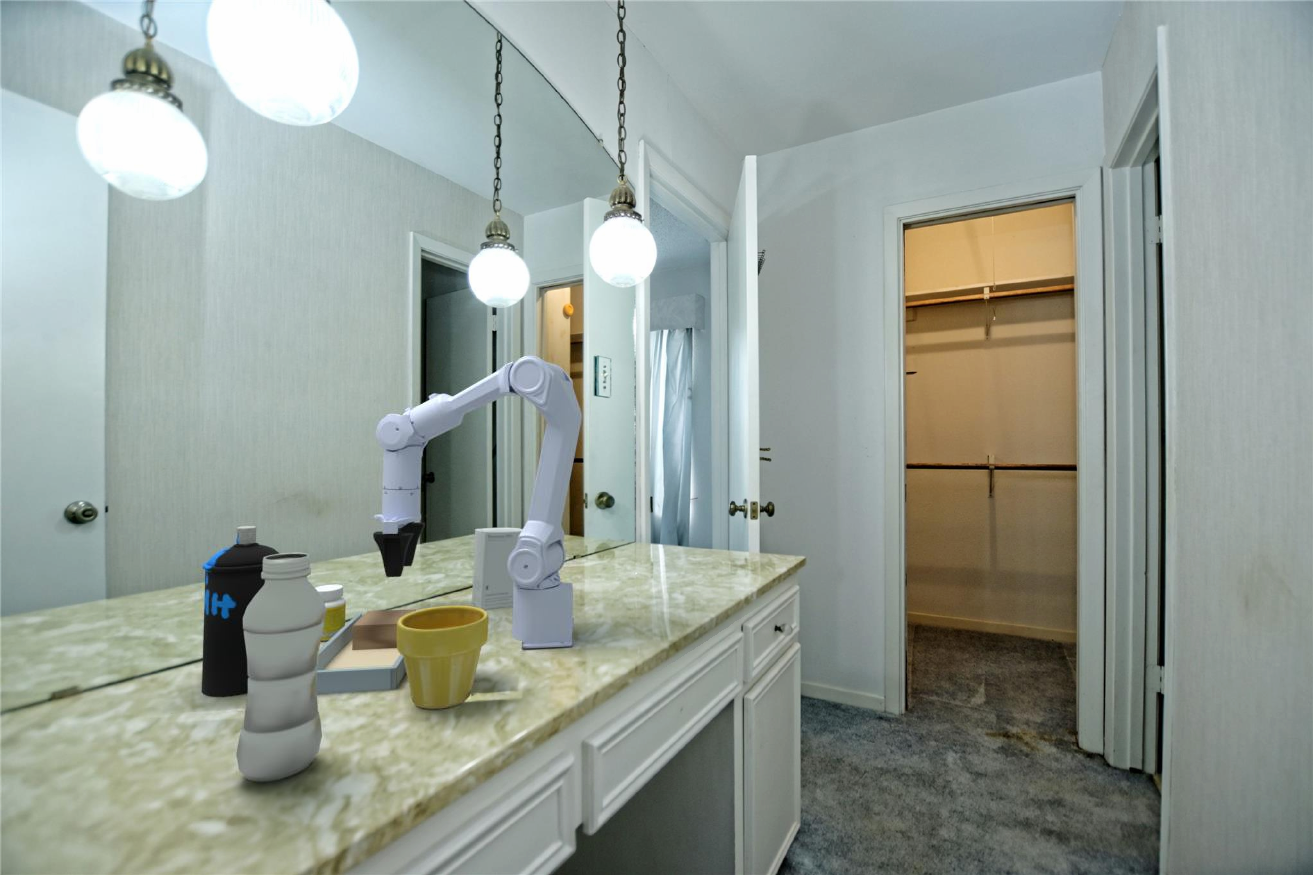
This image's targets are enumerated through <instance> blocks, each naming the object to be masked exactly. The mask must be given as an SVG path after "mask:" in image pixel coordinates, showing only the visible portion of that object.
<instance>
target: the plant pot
mask: <svg viewBox="0 0 1313 875" xmlns="http://www.w3.org/2000/svg"><path fill="white" fill-rule="evenodd" d="M488 635H489V613H488V612H487V610H483V609H480V608H477V607H476V606H469V605H442V606H441V605H440V606H434V607H428V608H427V607H426V608H422V609H418V610H417V609H416V611H414V612H411V613H408V614H406V615H404V616H403V617H401V618H400V619H399V620H398V622H397V650H398V652H399V653H400V654H402V655H403V658H404V663H405V667H406V672H407V673H406V675H407V680H408V685H409V691H410V696H411V701H412V702H413V704H414V705H415V706H417V707H419V708H421V709H427V710H428V709H429V710H438V709H439V710H440V709H448V708H451V707H455V706H457V705H460V704H462V703H464V702H466V701H468V699H469V698H470V697H471V695H472V693H471V690H472V689H473V685H474V680H475V677H476V672H477V668H478V663H479V660H480V655H481V651H482V647H484V645H485V644H486V643H487V642H488V637H489V636H488Z"/></svg>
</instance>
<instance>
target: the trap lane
mask: <svg viewBox="0 0 1313 875" xmlns="http://www.w3.org/2000/svg"><path fill="white" fill-rule="evenodd" d="M362 616H363V613H362V612H358V613H356V614H355V615H354V616H353V617H352V618H351V619H350V620H349V621H348V622H347V623H345V626H344V627H343V628H342V629H341V630H339V631H338V632H337V633H336V634H335V635H334V636H333V637H332V638H331V639H330V640H329V641H328V642H325V644H324V645H322V646H320V647H319V656H318V664H317V677H316V684H317V695H325V694H342V693H357V692H360V693H361V692H373V691H376V692H377V691H391V690H397V688H398V686H399V684H400V682H401V681H402V680H403V678H404V675H405V674H407V672H406V667H405V663H404V658H403V655H402V654H400V653H399V652H398V650H397V648H389V649H368V650H352V639H353V625H354V624H355V623H356V622H357V621H358V620H359V619H360V618H361V617H362Z"/></svg>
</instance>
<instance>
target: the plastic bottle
mask: <svg viewBox="0 0 1313 875" xmlns="http://www.w3.org/2000/svg"><path fill="white" fill-rule="evenodd" d="M311 574H312V569H311V556H310V554H309V553H305V552H286V553H280V554H275V555H269V556H266V557H264V558H263V572H262V573H261V578H262V579H265V584H264V586H263V587H262V588H261V589H260V590H259V591H258V593H257V594H256V595H255V596H254V598H253V599H252V600H251V602H250V603H249V605H248V606H247V608H246V611H245V614H244V616H243V629H244V638H245V645H246V652H247V665H248V676H249V678H248V693H247V694H246V704H245V711H244V717H243V723H242V724H243V725H242V727H241V730H240V734H239V738H238V742H237V743H238V744H237V748H236V754H235V755H236V761H237V766H238V767H237V768H238V770H239V772H240V773H241V774H242V775H243V776H244V777H245V778H246V779H248V780H249V781H253V782H263V783H264V782H272V781H278V780H281V779H285V778H288V777H292V776H293V775H295V774H298V773H300V772H302V771H303V770H305V769H306V768H308V767H309V766H310V765H311V764H312V762H313V761H314V759H315V758H316V757H317V756H318V754H319V751H320V747H321V743H322V742H321V741H322V739H323V730H322V722H321V721H322V720H321V716H320V712H319V706H318V694H317V684H316V677H317V664H318V656H319V649H320V648H321V646H320V645H321V643H322V642H321V637H322V632H323V627H324V620H325V615H326V607H325V603H324V600H323V598H322V597H321V595H320V594H319V592H318V591H317V590H316V589H315V588H316V587H315V586H313V584H311V582H310V581H309V580H308V576H311Z"/></svg>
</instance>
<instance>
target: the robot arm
mask: <svg viewBox="0 0 1313 875" xmlns="http://www.w3.org/2000/svg"><path fill="white" fill-rule="evenodd" d="M507 396H511V397H521V398H524V399H525V400H526V401H528V402H529V403H530V404H532V405H534V407H535V408H536V410H537V411H538V413H539V414H540V415H541V417H543V419H544V421H545V422H546V424H545V429H544V436H543V439H542V445H541V450H540V455H539V461H538V466H537V470H536V476H535V481H534V485H533V491H532V496H531V502H530V505H529V506H530V507H529V512H528V515H527V516H528V517H527V521H526V523H525V525H524V526H523V528H522V529H523V530H522V531H521V533H520V535H519V537H518V542H517V545H516V547H515V549H514V550H513V551H512V553H511V554H510V556H509V558H508V562H507V570H508V574H509V576H510V577H511V579H512V580H513V581H514V586H513V606H512V627H511V628H512V630H511V631H512V632H511V633H512V635H511V636H512V638H513V639H514V640H517V641H519V642H521V649H522V650H523V649H524V650H525V649H539V648H540V649H544V648H561V647H562V648H563V647H564V648H565V647H572V646H573V630H574V628H575V620H574V616H573V615H574V613H573V612H574V589H573V588H574V587H573V583H572V582H564V581H563V582H562V581H561V576H560V574H559V572H560V570H561V569H562V567H563V566H564V565H565V561H566V550H565V545H564V539H565V531H564V529H563V527H562V522H563V515H564V510H565V506H566V501H567V496H568V491H569V486H570V480H571V475H572V471H573V464H574V460H575V455H576V450H577V444H578V441H579V434H580V429H581V425H582V420H583V419H582V418H583V416H582V415H583V414H582V410H581V407H580V405H579V402H578V401H579V400H578V399H577V395H576V393H575V389H574V381H573V379H572V378H571V377H570V375H568V373H567V372H566V371H565V370H564V368H562V367H561V366H560V365H558V364H555V363H551V362H548V361H545V360H543V359H542V358H540V357H538V356H535V355H525V356H522V357H520V358H519V359H517V360H516V361H511V362H508V363H506V364H504V365H503V366H502V367H500V369H498V370H496V371H495V372H493V373H492V374H489V375H488V376H486V377H484V378H483V379H481V380H479V381H478V382H476V383H474V384H472V385H471V386H469V387H467V388H465V389H464V390H462V391H460V392H458V393H457V394H455V395H453V396H452V395H449V394H447V393H441V394H440V393H432V394H431V395H429V396H428V399H429V400H426V401H425V402H423V403H422V404H419V405H417V406H414V407H412V406H409V407H407V408H406V409H404V413H403V414H402V415H401V414H397V413H389V414H386V416H385V417H383V418H382V419H381V420H380V421H379V422H378V424H377V427H376V430H375V436H376V440H377V442H378V444H379V445H380V446H381V447H382V448H383V456H382V457H383V460H382V463H383V464H382V497H381V498H382V499H381V500H382V501H381V504H382V506H381V514H380V513H379V514H375V515H373V520H374V521H380V522H381V523H382V531H375V532H373V534H372V537H373V540H374V542H375V543H376V546H377V548H378V550H379V552H380V554H381V560H382V563H383V564H382V565H383V569H384V573H385V577H386V578H401V576H402V575H403V571H404V567H412V565H413V563H414V560H415V555H416V551H417V550H416V549H417V545H418V543H419V540H420V537H421V534H422V533H423V530H424V529H425V527H426V523H425V522H418V521H420V520H421V519H422V514H421V488H422V486H421V484H422V482H421V480H422V457H423V456H424V455H423V452H424V448H425V447H426V445H427V444H428V442H429V441H430V440H432V439H433V438H436V437H438V436H441V435H442V434H444V433H446V432H449V431H450V430H452V429H455V428H456V427H458V426H460V425H461V424H462V422H463V419H464V416H465V414H467V413H470V412H472V411H474V410H478V409H479V408H482V407H484V406H486V405H488V404H491V403H493V402H495V401H497V400H500V399H502V398H505V397H507Z"/></svg>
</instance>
